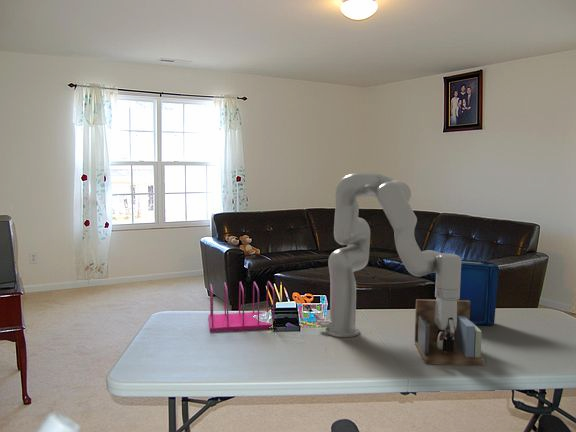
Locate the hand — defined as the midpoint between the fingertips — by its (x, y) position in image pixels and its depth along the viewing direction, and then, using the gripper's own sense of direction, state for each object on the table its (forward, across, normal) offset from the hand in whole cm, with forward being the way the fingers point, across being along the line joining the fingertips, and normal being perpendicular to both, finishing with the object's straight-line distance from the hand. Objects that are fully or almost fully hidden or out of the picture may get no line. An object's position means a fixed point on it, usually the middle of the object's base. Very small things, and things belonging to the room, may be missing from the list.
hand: (445, 346), depth 160 cm
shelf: (+4, -3, +2) cm, 5 cm away
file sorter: (+5, -30, -71) cm, 77 cm away
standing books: (+2, -3, +8) cm, 9 cm away
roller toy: (+1, 0, 0) cm, 1 cm away
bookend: (+2, -3, -6) cm, 7 cm away
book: (+4, -38, +18) cm, 42 cm away
